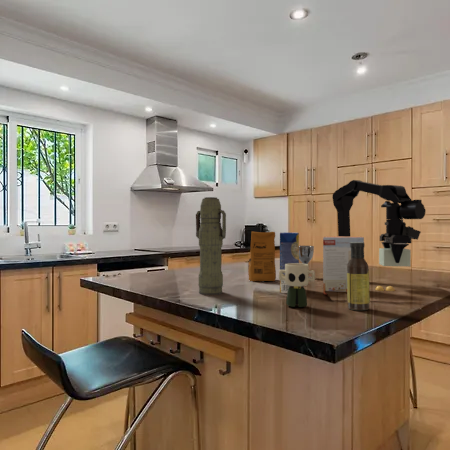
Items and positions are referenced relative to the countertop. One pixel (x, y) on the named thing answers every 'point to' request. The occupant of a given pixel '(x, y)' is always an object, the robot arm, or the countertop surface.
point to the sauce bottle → (357, 279)
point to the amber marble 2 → (390, 288)
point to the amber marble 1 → (379, 288)
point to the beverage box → (288, 254)
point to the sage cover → (388, 259)
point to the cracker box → (336, 262)
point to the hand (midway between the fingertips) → (394, 261)
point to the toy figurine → (296, 282)
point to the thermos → (210, 245)
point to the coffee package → (262, 257)
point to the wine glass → (306, 254)
